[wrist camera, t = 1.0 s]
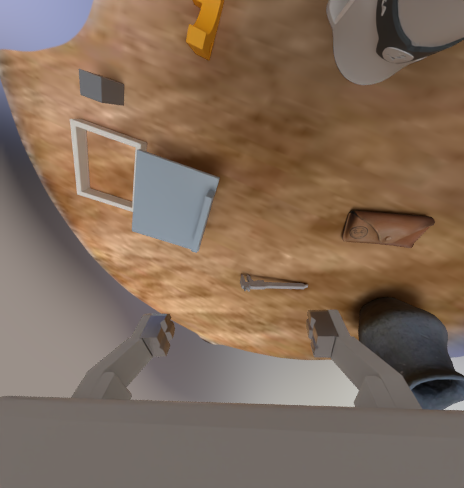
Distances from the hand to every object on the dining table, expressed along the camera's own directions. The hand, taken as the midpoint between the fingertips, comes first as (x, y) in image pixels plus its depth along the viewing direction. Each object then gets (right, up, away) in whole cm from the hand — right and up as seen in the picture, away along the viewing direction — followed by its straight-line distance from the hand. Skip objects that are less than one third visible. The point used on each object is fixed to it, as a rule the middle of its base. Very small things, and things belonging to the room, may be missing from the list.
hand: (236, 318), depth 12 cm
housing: (-28, +22, +35) cm, 50 cm away
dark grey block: (-23, +34, +27) cm, 49 cm away
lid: (-12, +12, +29) cm, 34 cm away
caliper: (+13, -6, +50) cm, 52 cm away
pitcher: (+47, -17, +53) cm, 73 cm away
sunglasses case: (+37, +7, +39) cm, 54 cm away
